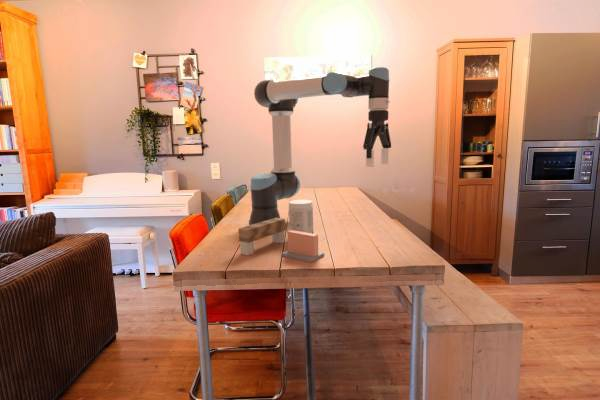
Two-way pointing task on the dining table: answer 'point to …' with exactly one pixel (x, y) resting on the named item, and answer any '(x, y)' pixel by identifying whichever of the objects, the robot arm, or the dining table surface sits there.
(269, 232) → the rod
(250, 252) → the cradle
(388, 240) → the dining table surface
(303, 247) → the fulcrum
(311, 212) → the supplement tub
